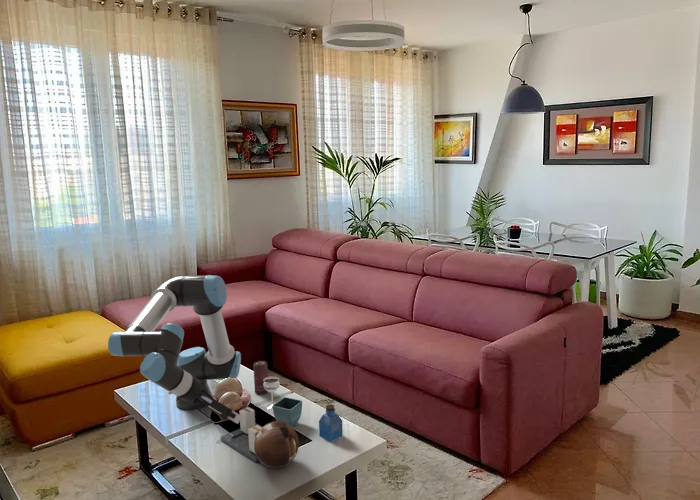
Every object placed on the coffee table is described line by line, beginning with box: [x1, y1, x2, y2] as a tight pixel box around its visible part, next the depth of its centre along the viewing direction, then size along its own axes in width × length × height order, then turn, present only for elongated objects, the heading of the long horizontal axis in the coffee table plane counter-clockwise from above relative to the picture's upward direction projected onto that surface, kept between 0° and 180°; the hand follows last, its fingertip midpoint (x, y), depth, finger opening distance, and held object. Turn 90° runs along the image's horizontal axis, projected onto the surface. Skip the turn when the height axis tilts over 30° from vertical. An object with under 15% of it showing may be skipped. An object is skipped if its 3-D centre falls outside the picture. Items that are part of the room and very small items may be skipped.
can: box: [253, 360, 269, 396], centre depth 243 cm, size 6×6×14 cm
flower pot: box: [272, 396, 303, 428], centre depth 214 cm, size 9×9×9 cm
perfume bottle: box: [318, 404, 344, 443], centre depth 204 cm, size 6×6×12 cm
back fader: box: [239, 406, 256, 434], centre depth 207 cm, size 4×4×8 cm
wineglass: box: [263, 376, 280, 410], centre depth 229 cm, size 7×7×12 cm
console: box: [220, 422, 263, 464], centre depth 201 cm, size 22×15×2 cm
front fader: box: [248, 424, 263, 454], centre depth 193 cm, size 4×4×8 cm
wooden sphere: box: [254, 420, 300, 469], centre depth 186 cm, size 15×15×15 cm
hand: (230, 415), depth 183 cm, fingers open, 9 cm apart
